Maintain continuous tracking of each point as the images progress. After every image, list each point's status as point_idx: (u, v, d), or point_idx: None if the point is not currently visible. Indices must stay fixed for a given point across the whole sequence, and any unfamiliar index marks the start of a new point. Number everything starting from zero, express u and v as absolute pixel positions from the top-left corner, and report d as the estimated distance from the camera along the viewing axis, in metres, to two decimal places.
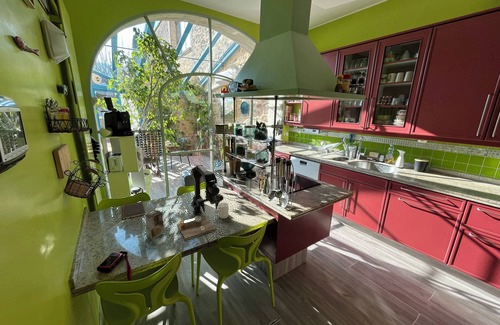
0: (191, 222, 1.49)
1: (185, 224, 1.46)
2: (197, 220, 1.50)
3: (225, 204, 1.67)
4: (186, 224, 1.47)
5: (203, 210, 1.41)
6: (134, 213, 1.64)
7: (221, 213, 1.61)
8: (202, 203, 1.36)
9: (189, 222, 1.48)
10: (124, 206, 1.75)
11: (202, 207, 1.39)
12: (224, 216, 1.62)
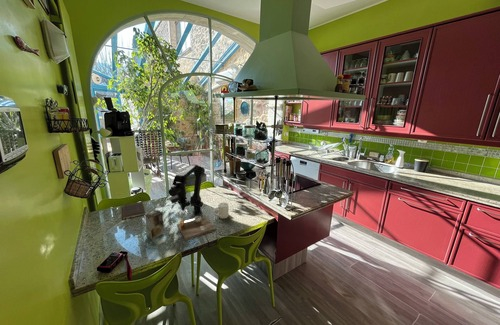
0: (191, 222, 1.49)
1: (185, 224, 1.46)
2: (197, 220, 1.50)
3: (225, 204, 1.67)
4: (186, 224, 1.47)
5: None
6: (135, 213, 1.64)
7: (221, 213, 1.61)
8: None
9: (189, 222, 1.48)
10: (124, 206, 1.75)
11: None
12: (224, 216, 1.62)
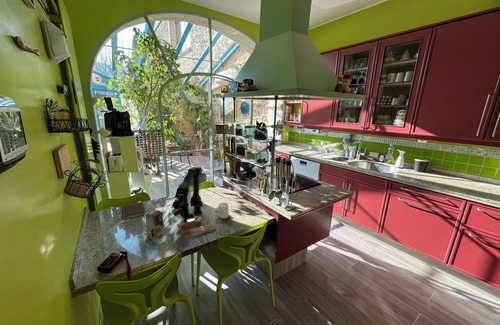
0: (191, 222, 1.49)
1: (185, 224, 1.46)
2: (197, 220, 1.50)
3: (225, 204, 1.67)
4: (186, 224, 1.47)
5: (183, 219, 1.49)
6: (135, 213, 1.64)
7: (221, 213, 1.61)
8: None
9: (189, 222, 1.48)
10: (124, 206, 1.75)
11: None
12: (224, 216, 1.62)
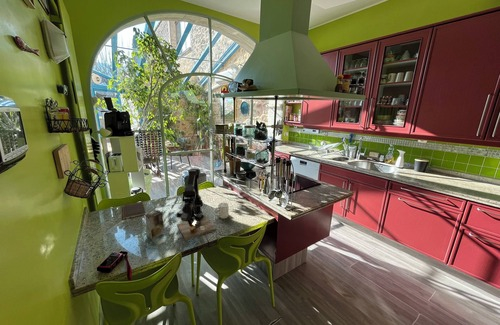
0: (196, 223, 1.47)
1: (194, 227, 1.43)
2: None
3: (225, 204, 1.67)
4: (195, 227, 1.44)
5: (189, 224, 1.44)
6: (135, 213, 1.64)
7: (221, 213, 1.61)
8: (179, 215, 1.41)
9: (196, 224, 1.46)
10: (124, 206, 1.75)
11: (187, 220, 1.42)
12: (224, 216, 1.62)
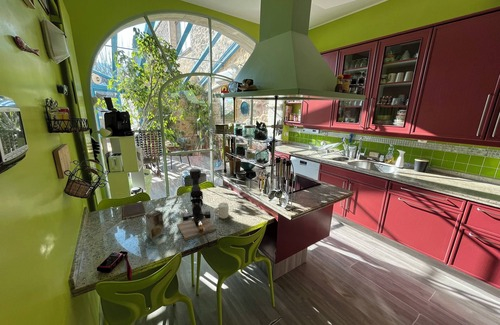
0: (200, 223, 1.48)
1: None
2: None
3: (225, 204, 1.67)
4: None
5: (196, 225, 1.43)
6: (135, 213, 1.64)
7: (221, 213, 1.61)
8: (186, 219, 1.37)
9: (201, 223, 1.47)
10: (124, 206, 1.75)
11: None
12: (224, 216, 1.62)
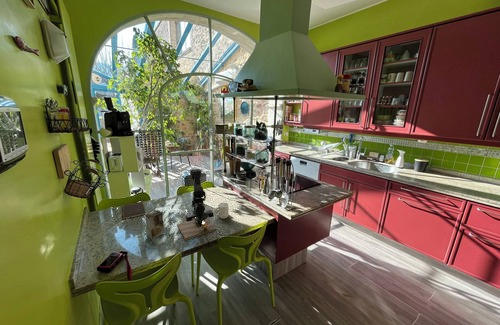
0: None
1: None
2: None
3: (225, 204, 1.67)
4: None
5: None
6: (135, 213, 1.64)
7: (221, 213, 1.61)
8: (190, 219, 1.37)
9: None
10: (124, 206, 1.75)
11: (197, 221, 1.42)
12: (224, 216, 1.62)
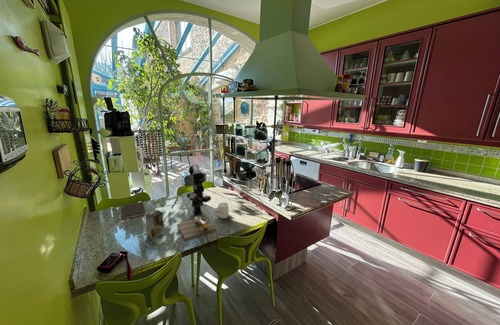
0: None
1: None
2: None
3: (225, 204, 1.67)
4: None
5: (197, 205, 1.55)
6: (135, 213, 1.64)
7: (221, 213, 1.61)
8: (189, 196, 1.53)
9: None
10: (124, 206, 1.75)
11: (195, 201, 1.54)
12: (224, 216, 1.62)
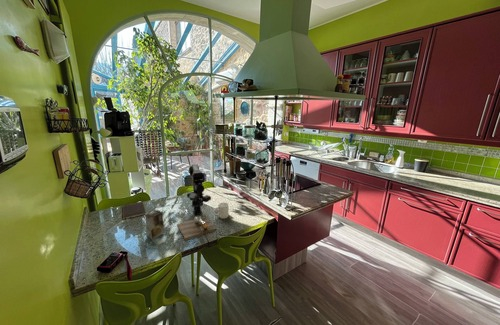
0: None
1: None
2: None
3: (225, 204, 1.67)
4: None
5: (198, 204, 1.55)
6: (135, 213, 1.64)
7: (221, 213, 1.61)
8: (189, 196, 1.53)
9: None
10: (124, 206, 1.75)
11: (196, 201, 1.54)
12: (224, 216, 1.62)
